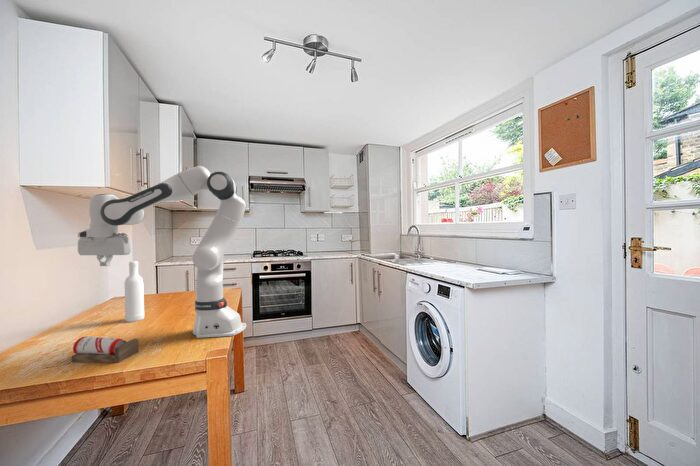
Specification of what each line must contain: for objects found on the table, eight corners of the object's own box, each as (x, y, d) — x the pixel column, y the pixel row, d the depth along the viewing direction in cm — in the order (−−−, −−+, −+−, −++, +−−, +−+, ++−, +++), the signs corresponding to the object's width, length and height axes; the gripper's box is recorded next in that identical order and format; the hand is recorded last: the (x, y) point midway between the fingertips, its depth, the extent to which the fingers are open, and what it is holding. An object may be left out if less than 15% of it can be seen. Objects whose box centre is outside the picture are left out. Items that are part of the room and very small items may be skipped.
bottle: (148, 317, 148) (147, 260, 148) (135, 322, 140) (134, 262, 140) (134, 317, 149) (133, 260, 148) (120, 322, 141) (119, 262, 141)
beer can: (67, 351, 99) (109, 354, 97) (78, 333, 102) (119, 336, 101) (81, 356, 104) (121, 359, 102) (91, 339, 107) (131, 341, 106)
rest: (138, 351, 106) (138, 338, 106) (119, 362, 98) (118, 348, 97) (94, 351, 107) (94, 338, 107) (71, 361, 99) (71, 347, 98)
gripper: (134, 232, 120) (134, 264, 120) (88, 233, 121) (89, 265, 121) (121, 232, 114) (122, 266, 114) (73, 233, 115) (74, 267, 115)
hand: (105, 266), depth 118 cm, fingers closed
